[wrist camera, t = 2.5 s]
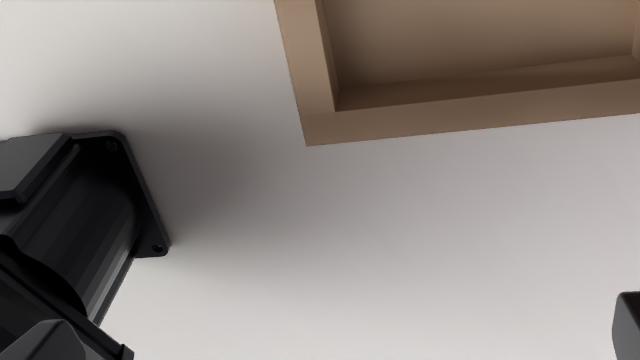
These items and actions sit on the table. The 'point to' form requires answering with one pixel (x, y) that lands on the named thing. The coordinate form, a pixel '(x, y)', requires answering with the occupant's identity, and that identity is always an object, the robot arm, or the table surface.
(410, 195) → the table surface
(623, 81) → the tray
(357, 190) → the table surface
